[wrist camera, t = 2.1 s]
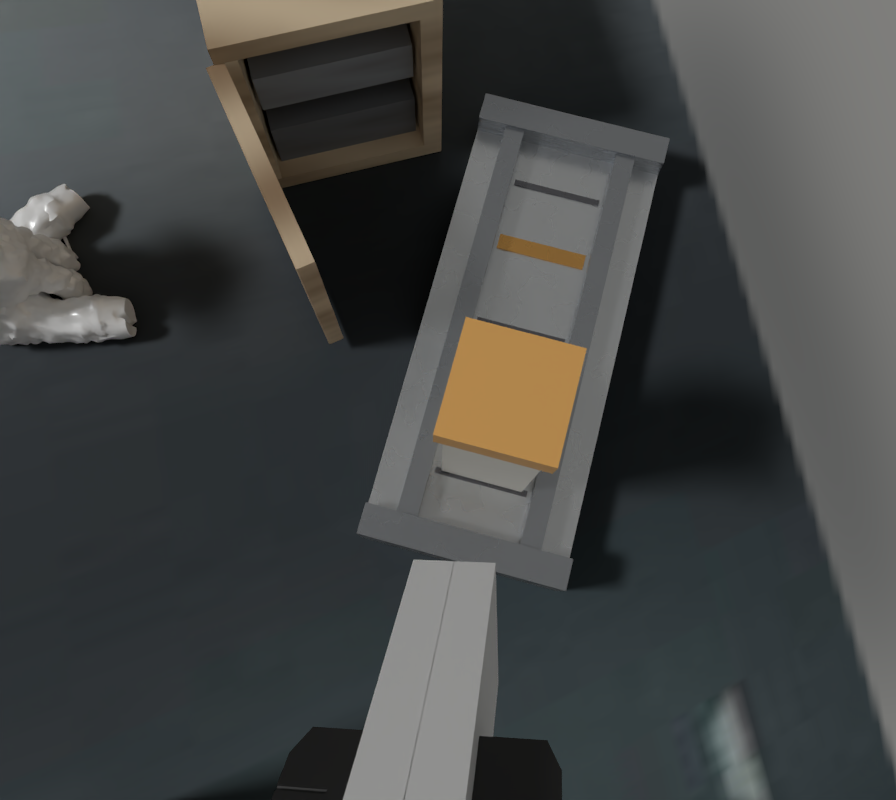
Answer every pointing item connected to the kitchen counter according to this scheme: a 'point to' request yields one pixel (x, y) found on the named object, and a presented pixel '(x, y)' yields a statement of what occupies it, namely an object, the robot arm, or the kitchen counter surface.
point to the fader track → (520, 329)
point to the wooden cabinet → (325, 96)
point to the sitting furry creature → (52, 279)
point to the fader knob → (507, 404)
